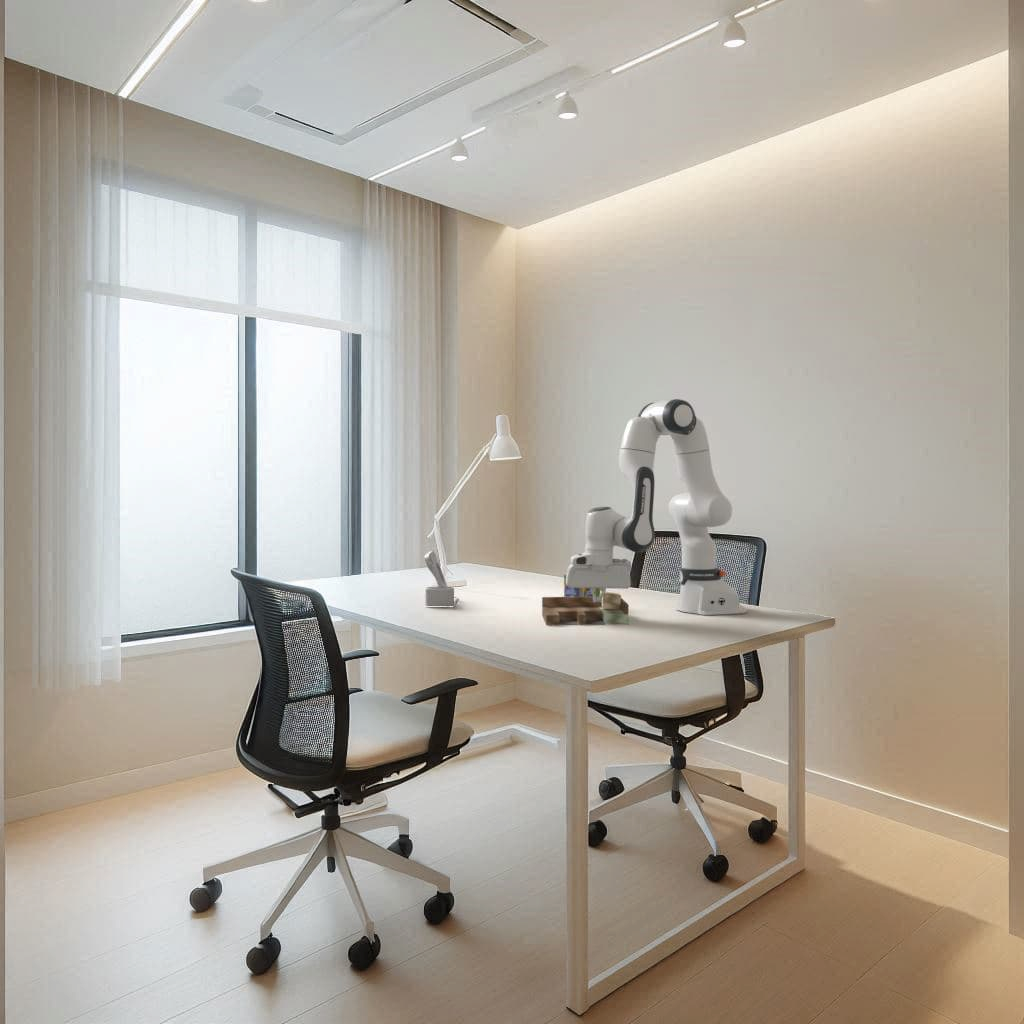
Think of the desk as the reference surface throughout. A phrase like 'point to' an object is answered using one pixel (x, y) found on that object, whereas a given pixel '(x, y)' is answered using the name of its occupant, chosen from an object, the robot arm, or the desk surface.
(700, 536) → the robot arm
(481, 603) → the desk surface
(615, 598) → the maple block
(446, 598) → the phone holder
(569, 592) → the chalk box
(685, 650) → the desk surface
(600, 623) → the track
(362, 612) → the desk surface
